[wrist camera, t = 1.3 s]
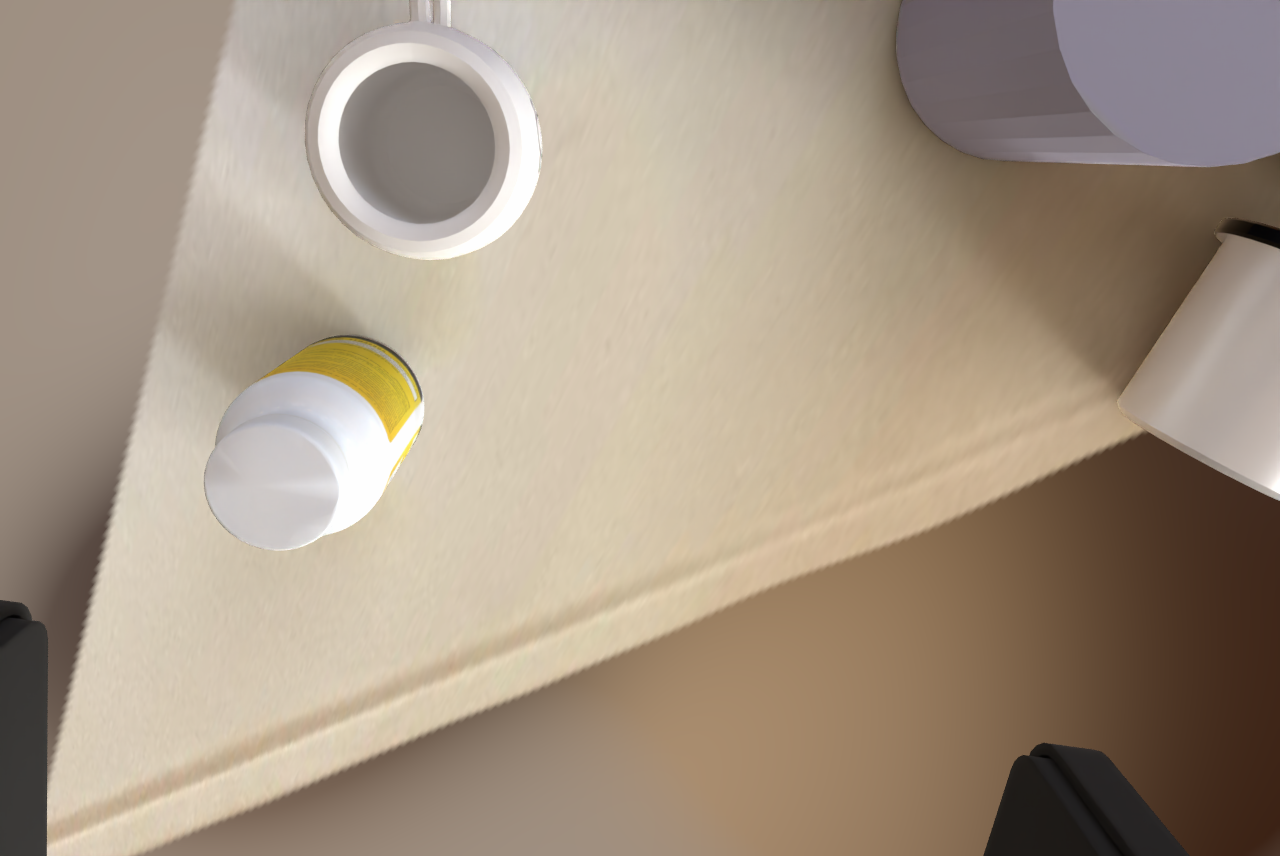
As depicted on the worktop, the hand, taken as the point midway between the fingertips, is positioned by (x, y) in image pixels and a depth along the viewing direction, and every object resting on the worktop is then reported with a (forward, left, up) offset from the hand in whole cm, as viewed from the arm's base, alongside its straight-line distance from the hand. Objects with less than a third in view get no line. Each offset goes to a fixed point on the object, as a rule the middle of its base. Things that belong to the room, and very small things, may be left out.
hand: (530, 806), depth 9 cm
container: (+6, +20, -35) cm, 41 cm away
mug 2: (+25, +13, -32) cm, 42 cm away
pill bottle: (-5, -11, -35) cm, 37 cm away
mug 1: (-10, +2, -35) cm, 37 cm away
